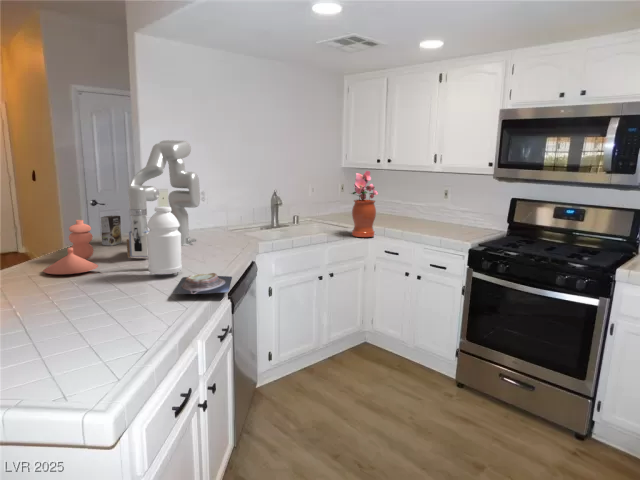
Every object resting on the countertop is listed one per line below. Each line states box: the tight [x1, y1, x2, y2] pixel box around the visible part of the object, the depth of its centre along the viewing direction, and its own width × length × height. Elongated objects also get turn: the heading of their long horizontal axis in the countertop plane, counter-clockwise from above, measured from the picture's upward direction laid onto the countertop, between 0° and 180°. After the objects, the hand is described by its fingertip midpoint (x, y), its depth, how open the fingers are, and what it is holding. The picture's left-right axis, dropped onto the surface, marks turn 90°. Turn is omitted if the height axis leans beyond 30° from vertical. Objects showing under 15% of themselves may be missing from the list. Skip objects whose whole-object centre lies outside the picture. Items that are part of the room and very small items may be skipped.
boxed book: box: [128, 230, 150, 258], centre depth 206 cm, size 8×5×12 cm, turn 96°
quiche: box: [172, 272, 233, 295], centre depth 166 cm, size 21×20×4 cm
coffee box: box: [100, 215, 123, 246], centre depth 242 cm, size 9×6×16 cm
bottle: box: [147, 205, 183, 275], centre depth 184 cm, size 14×14×28 cm
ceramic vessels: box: [43, 219, 99, 275], centre depth 192 cm, size 35×21×19 cm, turn 17°
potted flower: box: [349, 170, 379, 238], centre depth 292 cm, size 19×25×45 cm
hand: (140, 249), depth 206 cm, fingers closed on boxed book, 5 cm apart
